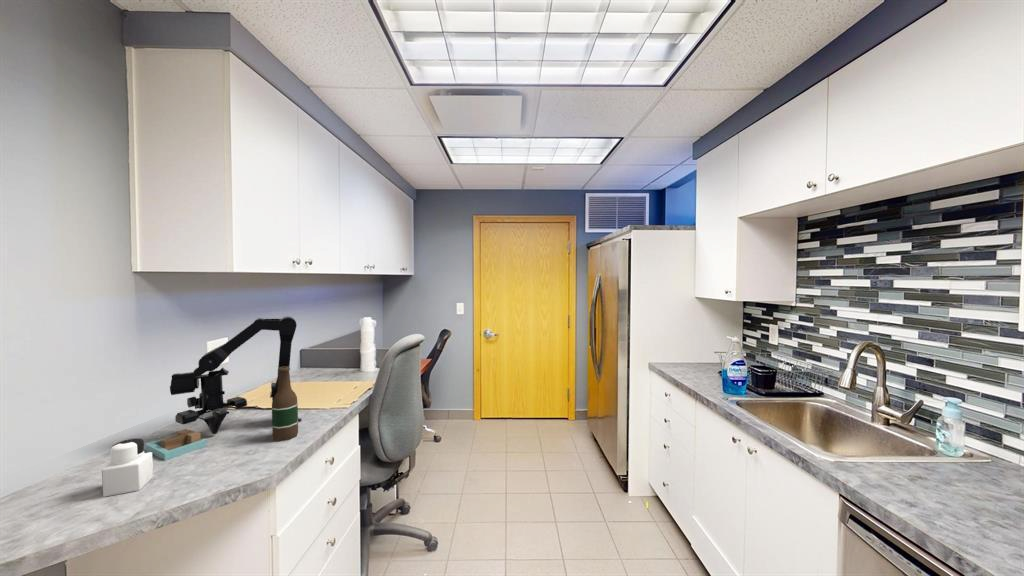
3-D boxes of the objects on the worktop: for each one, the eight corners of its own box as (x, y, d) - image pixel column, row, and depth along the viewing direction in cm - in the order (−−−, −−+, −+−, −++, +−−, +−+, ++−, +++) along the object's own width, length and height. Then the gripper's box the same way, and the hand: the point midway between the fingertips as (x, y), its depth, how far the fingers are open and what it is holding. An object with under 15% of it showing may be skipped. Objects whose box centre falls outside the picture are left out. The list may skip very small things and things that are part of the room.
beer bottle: (269, 437, 126) (267, 367, 126) (294, 430, 132) (292, 363, 131) (276, 444, 121) (274, 371, 120) (302, 436, 127) (300, 366, 126)
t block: (156, 451, 117) (155, 439, 116) (186, 441, 124) (185, 429, 124) (170, 456, 113) (170, 443, 113) (200, 445, 121) (200, 432, 121)
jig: (207, 446, 120) (206, 440, 120) (165, 460, 111) (164, 453, 111) (186, 437, 127) (186, 431, 127) (145, 450, 118) (144, 443, 117)
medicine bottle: (118, 483, 99) (117, 438, 98) (153, 477, 101) (152, 433, 101) (102, 497, 92) (100, 450, 92) (140, 490, 95) (138, 444, 95)
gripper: (230, 379, 139) (232, 420, 140) (166, 394, 122) (169, 440, 123) (246, 383, 134) (249, 425, 134) (182, 399, 117) (184, 447, 118)
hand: (214, 434), depth 128 cm, fingers closed
